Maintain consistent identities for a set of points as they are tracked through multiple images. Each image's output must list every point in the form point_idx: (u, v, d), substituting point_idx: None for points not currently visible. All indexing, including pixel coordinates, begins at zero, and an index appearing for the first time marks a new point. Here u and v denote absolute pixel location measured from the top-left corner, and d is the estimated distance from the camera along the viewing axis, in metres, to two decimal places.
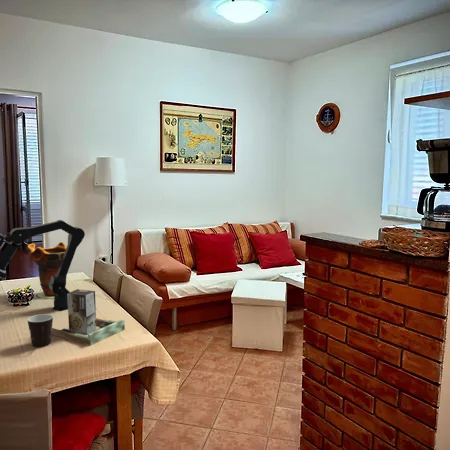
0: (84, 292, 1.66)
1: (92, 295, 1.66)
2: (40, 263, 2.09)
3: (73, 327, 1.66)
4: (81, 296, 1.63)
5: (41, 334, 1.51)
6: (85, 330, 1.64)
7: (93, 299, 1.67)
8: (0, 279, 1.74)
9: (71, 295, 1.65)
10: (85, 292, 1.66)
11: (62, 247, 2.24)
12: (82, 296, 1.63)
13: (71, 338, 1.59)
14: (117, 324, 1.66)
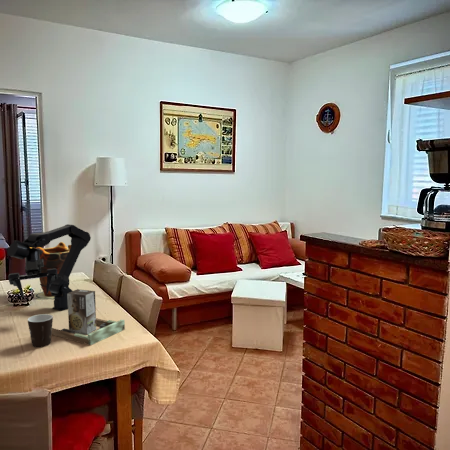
0: (84, 292, 1.66)
1: (92, 295, 1.66)
2: None
3: (73, 327, 1.66)
4: (81, 296, 1.63)
5: (41, 334, 1.51)
6: (85, 330, 1.64)
7: (93, 299, 1.67)
8: (51, 281, 1.79)
9: (71, 295, 1.65)
10: (85, 292, 1.66)
11: (62, 247, 2.24)
12: (82, 296, 1.63)
13: (71, 338, 1.59)
14: (117, 324, 1.66)
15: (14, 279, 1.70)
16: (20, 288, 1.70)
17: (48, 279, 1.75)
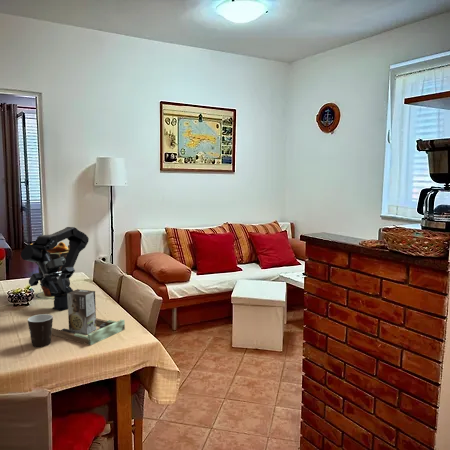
0: (84, 292, 1.66)
1: (92, 295, 1.67)
2: None
3: (73, 327, 1.66)
4: (81, 296, 1.63)
5: (41, 334, 1.51)
6: (85, 330, 1.64)
7: (93, 299, 1.67)
8: None
9: (71, 295, 1.65)
10: (85, 292, 1.66)
11: (62, 247, 2.24)
12: (82, 296, 1.63)
13: (71, 338, 1.59)
14: (117, 324, 1.66)
15: (46, 276, 1.73)
16: (53, 285, 1.74)
17: (62, 277, 1.78)
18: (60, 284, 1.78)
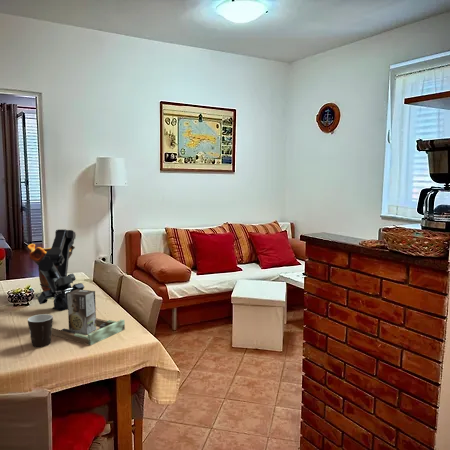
0: (84, 292, 1.66)
1: (92, 295, 1.67)
2: None
3: (73, 327, 1.66)
4: (81, 296, 1.63)
5: (41, 334, 1.51)
6: (85, 330, 1.64)
7: (93, 299, 1.67)
8: None
9: (71, 295, 1.65)
10: (85, 292, 1.66)
11: None
12: (82, 296, 1.63)
13: (71, 338, 1.59)
14: (117, 324, 1.66)
15: (60, 293, 1.71)
16: (66, 301, 1.72)
17: None
18: None
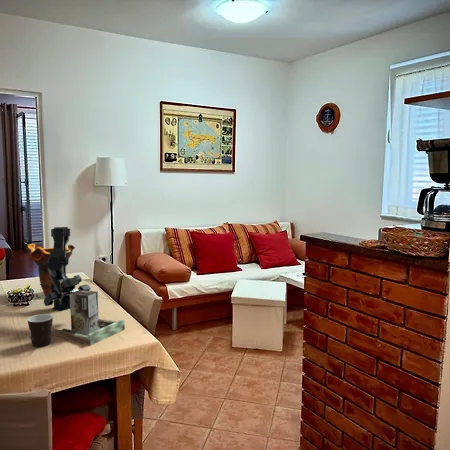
0: (86, 293, 1.65)
1: (94, 296, 1.65)
2: (40, 263, 2.09)
3: (76, 328, 1.65)
4: (83, 297, 1.62)
5: (41, 334, 1.51)
6: (87, 331, 1.63)
7: (95, 300, 1.66)
8: None
9: (73, 296, 1.64)
10: (87, 293, 1.65)
11: None
12: (84, 297, 1.62)
13: (71, 338, 1.59)
14: (117, 324, 1.66)
15: (66, 295, 1.68)
16: None
17: None
18: None
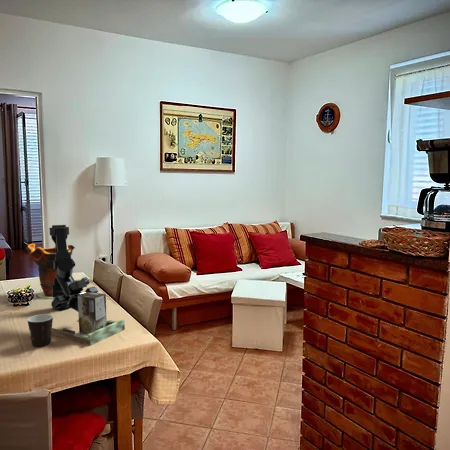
0: (94, 295, 1.62)
1: (102, 298, 1.62)
2: (40, 263, 2.09)
3: (83, 331, 1.62)
4: (91, 299, 1.59)
5: (41, 334, 1.51)
6: None
7: (103, 303, 1.63)
8: None
9: (81, 298, 1.61)
10: (95, 295, 1.62)
11: None
12: (92, 299, 1.59)
13: (71, 338, 1.59)
14: (117, 324, 1.66)
15: (73, 297, 1.65)
16: None
17: None
18: None
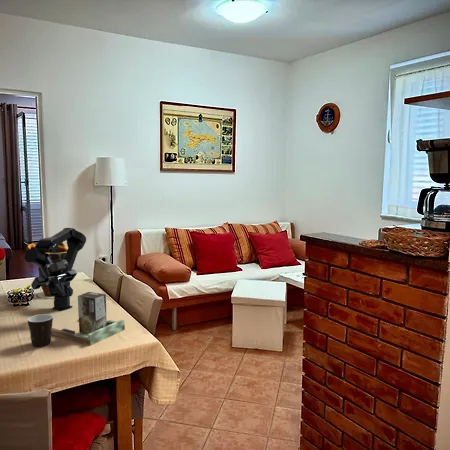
0: (94, 295, 1.62)
1: (102, 298, 1.62)
2: None
3: (83, 331, 1.62)
4: (91, 299, 1.59)
5: (41, 334, 1.51)
6: None
7: (103, 303, 1.63)
8: None
9: (81, 298, 1.61)
10: (95, 295, 1.62)
11: (62, 247, 2.24)
12: (92, 299, 1.59)
13: (71, 338, 1.59)
14: (117, 324, 1.66)
15: (53, 279, 1.74)
16: (59, 287, 1.75)
17: (61, 281, 1.77)
18: None
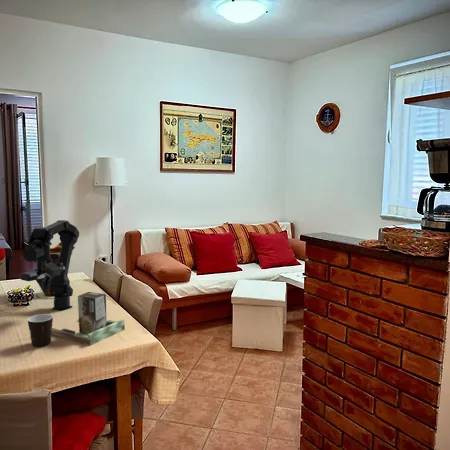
0: (94, 295, 1.62)
1: (102, 298, 1.62)
2: None
3: (83, 331, 1.62)
4: (91, 299, 1.59)
5: (41, 334, 1.51)
6: None
7: (103, 303, 1.63)
8: None
9: (81, 298, 1.61)
10: (95, 295, 1.62)
11: None
12: (92, 299, 1.59)
13: (71, 338, 1.59)
14: (117, 324, 1.66)
15: (43, 278, 1.75)
16: (44, 285, 1.78)
17: (49, 279, 1.79)
18: None
